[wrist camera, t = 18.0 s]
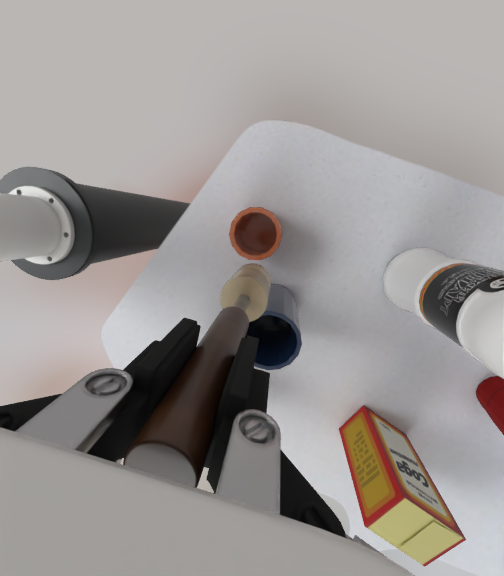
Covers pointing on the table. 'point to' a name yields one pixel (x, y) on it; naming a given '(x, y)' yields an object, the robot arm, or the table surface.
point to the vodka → (452, 300)
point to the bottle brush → (200, 387)
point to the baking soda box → (397, 489)
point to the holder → (255, 233)
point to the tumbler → (277, 330)
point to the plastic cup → (493, 399)
